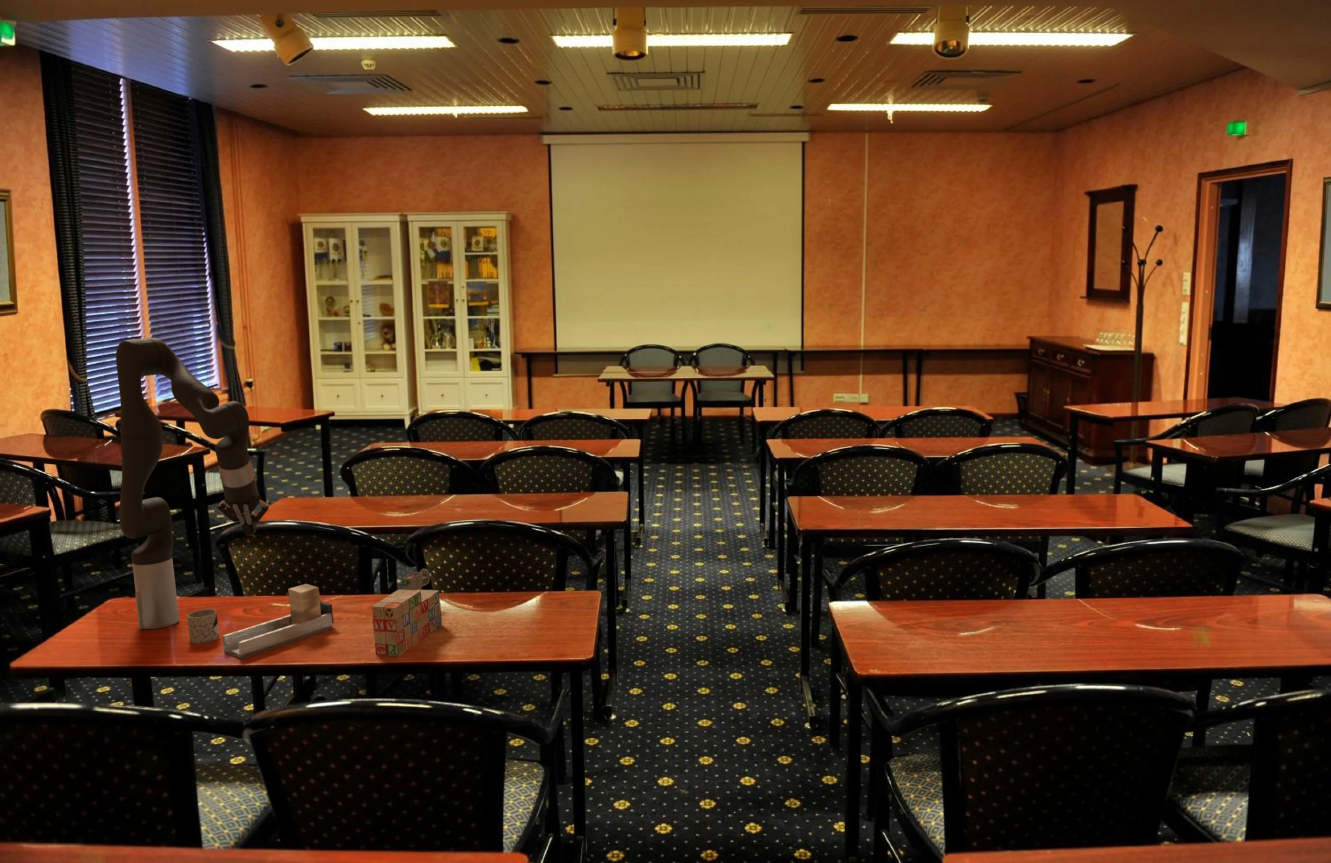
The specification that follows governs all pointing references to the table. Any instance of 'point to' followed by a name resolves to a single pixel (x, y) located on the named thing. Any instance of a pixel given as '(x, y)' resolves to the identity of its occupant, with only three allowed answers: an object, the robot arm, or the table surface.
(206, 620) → the mug
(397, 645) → the stack of blocks
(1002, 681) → the table surface
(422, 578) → the mechanical component
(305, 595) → the birch block
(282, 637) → the chute
